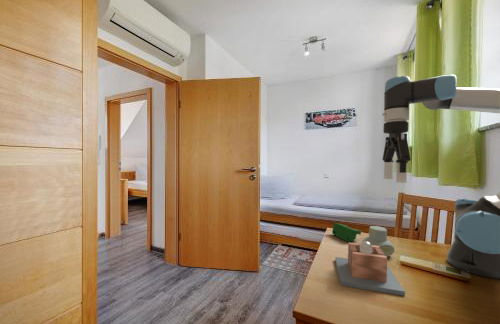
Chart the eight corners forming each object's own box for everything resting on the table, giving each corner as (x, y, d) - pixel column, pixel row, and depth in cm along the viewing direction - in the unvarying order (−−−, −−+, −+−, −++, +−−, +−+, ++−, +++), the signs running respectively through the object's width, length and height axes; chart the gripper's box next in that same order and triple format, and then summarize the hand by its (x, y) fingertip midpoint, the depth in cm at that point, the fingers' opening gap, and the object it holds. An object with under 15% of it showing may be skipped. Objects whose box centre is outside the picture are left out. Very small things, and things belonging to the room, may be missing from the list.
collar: (377, 267, 72) (378, 245, 71) (386, 282, 63) (387, 257, 63) (347, 263, 74) (348, 242, 74) (352, 276, 65) (352, 253, 65)
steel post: (370, 269, 70) (370, 240, 70) (372, 275, 66) (373, 244, 66) (358, 268, 71) (358, 238, 71) (360, 273, 67) (361, 242, 67)
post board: (386, 267, 74) (386, 263, 74) (404, 295, 59) (405, 291, 59) (335, 260, 78) (335, 257, 78) (340, 285, 63) (340, 281, 63)
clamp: (354, 250, 98) (365, 234, 95) (344, 248, 96) (355, 232, 93) (339, 232, 109) (348, 217, 106) (329, 230, 106) (338, 215, 104)
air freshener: (371, 259, 80) (372, 232, 79) (357, 250, 88) (358, 225, 88) (398, 258, 81) (399, 231, 81) (381, 248, 89) (382, 224, 89)
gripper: (375, 126, 92) (373, 177, 93) (396, 115, 68) (394, 183, 69) (395, 126, 90) (393, 177, 91) (424, 114, 66) (422, 185, 67)
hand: (394, 180), depth 80 cm, fingers open, 13 cm apart
